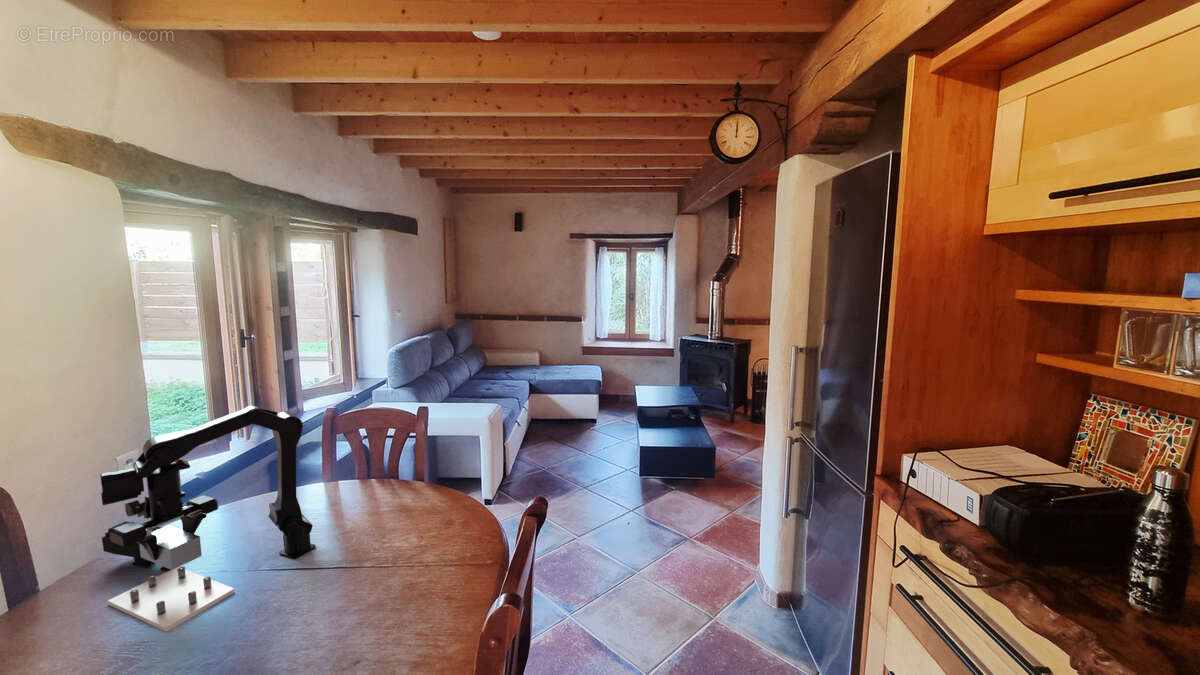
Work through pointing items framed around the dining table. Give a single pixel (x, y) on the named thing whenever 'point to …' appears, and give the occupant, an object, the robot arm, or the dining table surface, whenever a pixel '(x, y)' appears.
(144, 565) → the security camera
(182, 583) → the white peg board
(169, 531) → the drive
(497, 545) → the dining table surface
